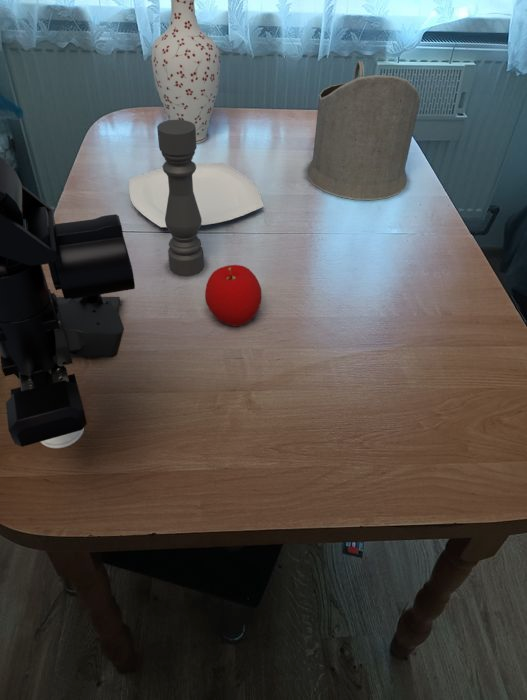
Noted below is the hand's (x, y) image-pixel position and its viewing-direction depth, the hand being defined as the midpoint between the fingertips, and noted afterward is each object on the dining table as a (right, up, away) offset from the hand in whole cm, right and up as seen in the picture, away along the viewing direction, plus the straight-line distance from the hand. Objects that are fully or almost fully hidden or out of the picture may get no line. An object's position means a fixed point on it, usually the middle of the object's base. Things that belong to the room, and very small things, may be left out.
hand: (56, 415), depth 58 cm
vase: (+3, +62, +81) cm, 102 cm away
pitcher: (+44, +51, +71) cm, 98 cm away
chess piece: (0, -2, +2) cm, 3 cm away
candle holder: (+9, +22, +39) cm, 46 cm away
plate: (+8, +39, +57) cm, 70 cm away
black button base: (-6, +10, +26) cm, 29 cm away
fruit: (+18, +12, +30) cm, 37 cm away
